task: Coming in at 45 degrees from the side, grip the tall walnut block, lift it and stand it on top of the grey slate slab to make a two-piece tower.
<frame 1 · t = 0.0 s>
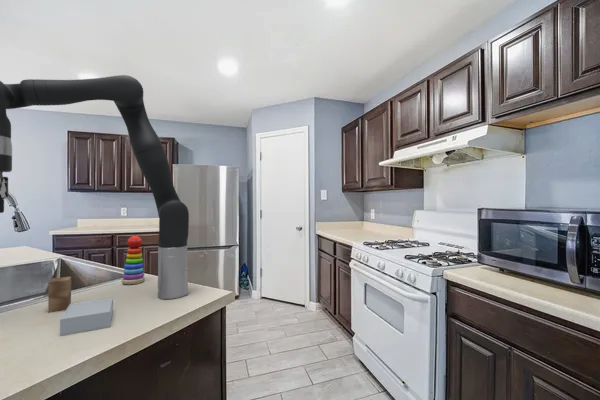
stacking toy: (133, 282, 113), on the worktop
walnut block: (59, 308, 85), on the worktop
slate slab: (89, 322, 76), on the worktop
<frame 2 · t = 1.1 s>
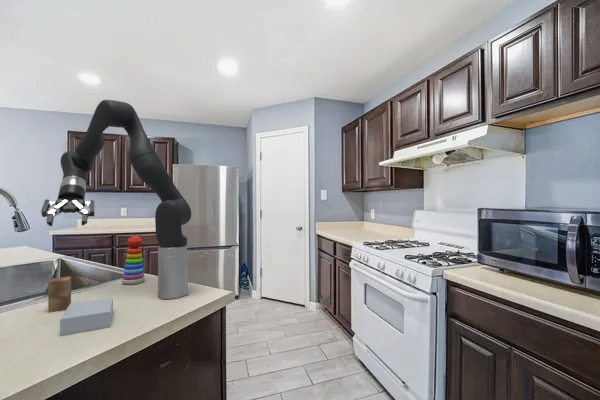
hand: (67, 224, 94), 25 cm above the worktop, tool tilted 45°, fingers open, 8 cm apart
nothing on the worktop moved.
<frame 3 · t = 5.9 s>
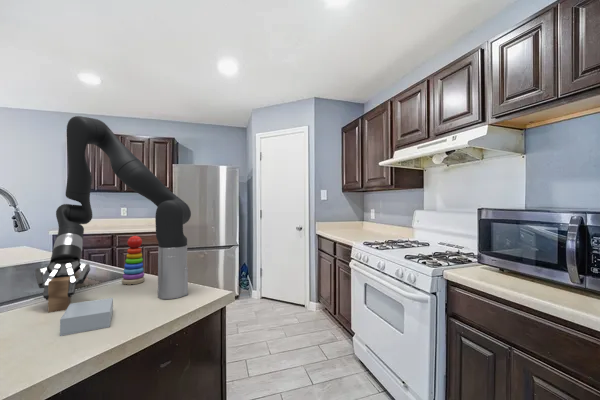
hand: (58, 296, 83), 4 cm above the worktop, tool tilted 45°, fingers closed on walnut block, 4 cm apart
walnut block: (59, 308, 85), on the worktop, touching gripper
everything else where it was.
when the fingers open (9 cm above the worktop, at t = 11.4 s): walnut block stays where it is, resting on slate slab.
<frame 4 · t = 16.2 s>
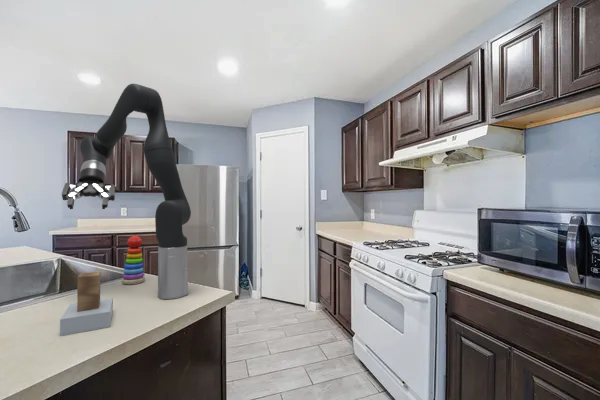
hand: (87, 207, 91), 31 cm above the worktop, tool tilted 45°, fingers open, 8 cm apart
walnut block: (89, 307, 76), point 4 cm above the worktop, touching slate slab
everything else where it was.
at the end: walnut block inside the target area on the slate slab (0.0 cm from its centre), point 4.0 cm above the slate slab's base; walnut block tilted 0°; the gripper is holding nothing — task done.
